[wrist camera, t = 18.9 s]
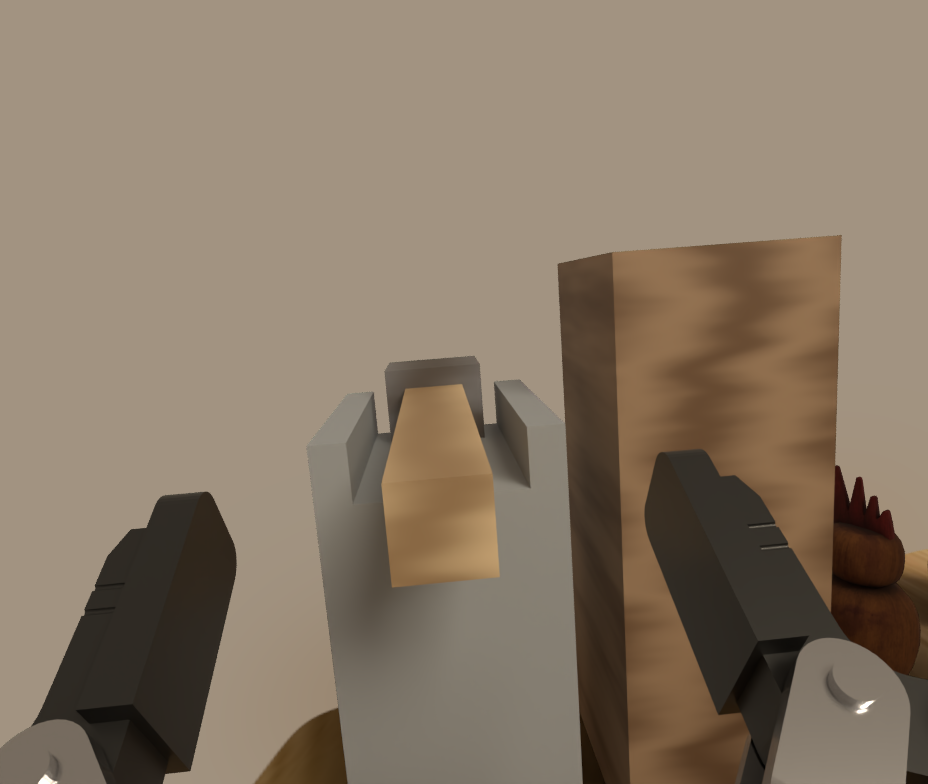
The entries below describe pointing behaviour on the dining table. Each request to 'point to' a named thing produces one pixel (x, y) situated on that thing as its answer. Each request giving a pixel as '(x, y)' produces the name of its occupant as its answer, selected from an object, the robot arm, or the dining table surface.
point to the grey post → (452, 614)
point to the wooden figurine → (871, 580)
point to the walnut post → (684, 428)
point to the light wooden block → (438, 475)
